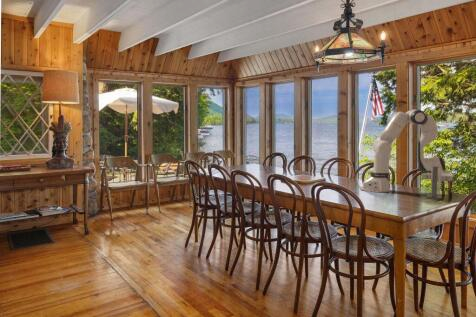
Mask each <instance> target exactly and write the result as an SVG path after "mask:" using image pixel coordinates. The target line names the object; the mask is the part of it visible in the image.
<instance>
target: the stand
mask: <svg viewBox="0 0 476 317" xmlns="http://www.w3.org/2000/svg"><path fill="white" fill-rule="evenodd" d="M437 179H438V167H436V166H433V174H432V189H431V193H432V195H427V196H426V199H429V200H431V199H432V200H442V198H443V195H439V194H438V189H437V186H438V182H437Z"/></svg>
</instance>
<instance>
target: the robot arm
mask: <svg viewBox="0 0 476 317" xmlns="http://www.w3.org/2000/svg"><path fill="white" fill-rule="evenodd" d="M407 124H411V125H419V126H418V127H420V132H421V135H420V137H419V138H418V140H417V166H416V167H417V169H418V170H419V171H421V172H422V173H421V178H420V179H422V180H430V181H431V173H429V172H428V171H431V169H432V168H433V166H436V167H438V169H441V183H442V182H452V181H453V180H454V179H453V173H452V172H449V171H445V170H446V163H445V160H444V158H443V157H441V156H433V157H428V158H425V156H424V155H425V154H424V152H425V151H424V148H425V147H426V146H427V145H429V144H431V143H432V142H434V141H436V140H437V138H438V137H439V136H438V135H439V131H438V126H437V123H436V120H435V118H434V117H433V116H432V115H427V114H426V113H425V112H424V111H423V110H421V109H415V108H413V109H409V110H407V111H405V112H404V111H397V112H395V114H394V115H393V116H392V117H391V119H390V120H389V122H388V124H387V125H386V126H385V128H384V129H383V131H382V133H380V134H379V136H377V138H376V140H375V141H374V143H373V144H372V149H373V152H374V153H375V154H374V161H373V171H371V172H370V177H368V178H366V179H365V180H364V181H363V182H362V186H361V187H359V190H360V191H365V192H373V193H386V192H388V193H389V192H391V189H390V182H389V181H390V171H389V170H390V159H391V153H392V144H393V142H394V141H396V139H398V138H399V136H400V134H401V132H402V131H403V129H404V128H405V126H406V125H407ZM426 172H428V173H426ZM438 173H439V171H438ZM437 183H438V179H437Z"/></svg>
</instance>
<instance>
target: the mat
mask: <svg viewBox="0 0 476 317" xmlns="http://www.w3.org/2000/svg"><path fill="white" fill-rule="evenodd" d="M418 195H419V196H424V197H427V195H432V192H431V193H429V192H420V193H419V194H418Z"/></svg>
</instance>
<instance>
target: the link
mask: <svg viewBox="0 0 476 317" xmlns="http://www.w3.org/2000/svg"><path fill="white" fill-rule="evenodd" d="M430 171H431V172H430V174H431V180H430V189H431V190H432V174H433V168H432V169H431V170H430ZM438 171H439V173H438V182H437V190H440V189H441V187H442V186H441V184H442V182H441V169H438Z"/></svg>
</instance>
